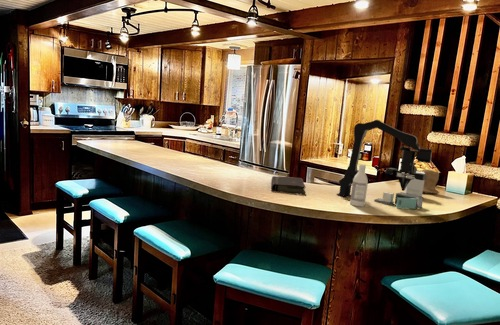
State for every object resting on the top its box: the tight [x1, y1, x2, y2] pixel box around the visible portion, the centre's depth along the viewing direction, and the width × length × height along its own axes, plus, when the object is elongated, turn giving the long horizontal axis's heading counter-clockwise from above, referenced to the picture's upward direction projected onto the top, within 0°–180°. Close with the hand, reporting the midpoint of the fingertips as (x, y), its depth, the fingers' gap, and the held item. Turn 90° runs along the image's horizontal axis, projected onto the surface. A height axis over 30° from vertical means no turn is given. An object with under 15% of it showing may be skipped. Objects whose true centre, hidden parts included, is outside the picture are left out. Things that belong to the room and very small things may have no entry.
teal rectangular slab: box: [395, 197, 417, 210], centre depth 187 cm, size 10×2×5 cm, turn 101°
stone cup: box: [421, 168, 440, 194], centre depth 242 cm, size 15×12×15 cm
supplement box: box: [404, 170, 425, 197], centre depth 224 cm, size 9×9×15 cm
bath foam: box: [349, 163, 369, 208], centre depth 184 cm, size 7×7×20 cm
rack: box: [394, 191, 424, 210], centre depth 195 cm, size 9×12×6 cm
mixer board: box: [373, 198, 395, 206], centre depth 198 cm, size 6×8×1 cm
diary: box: [270, 175, 306, 195], centre depth 211 cm, size 19×25×5 cm
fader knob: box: [381, 191, 395, 202], centre depth 197 cm, size 4×4×5 cm
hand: (403, 190), depth 191 cm, fingers closed
